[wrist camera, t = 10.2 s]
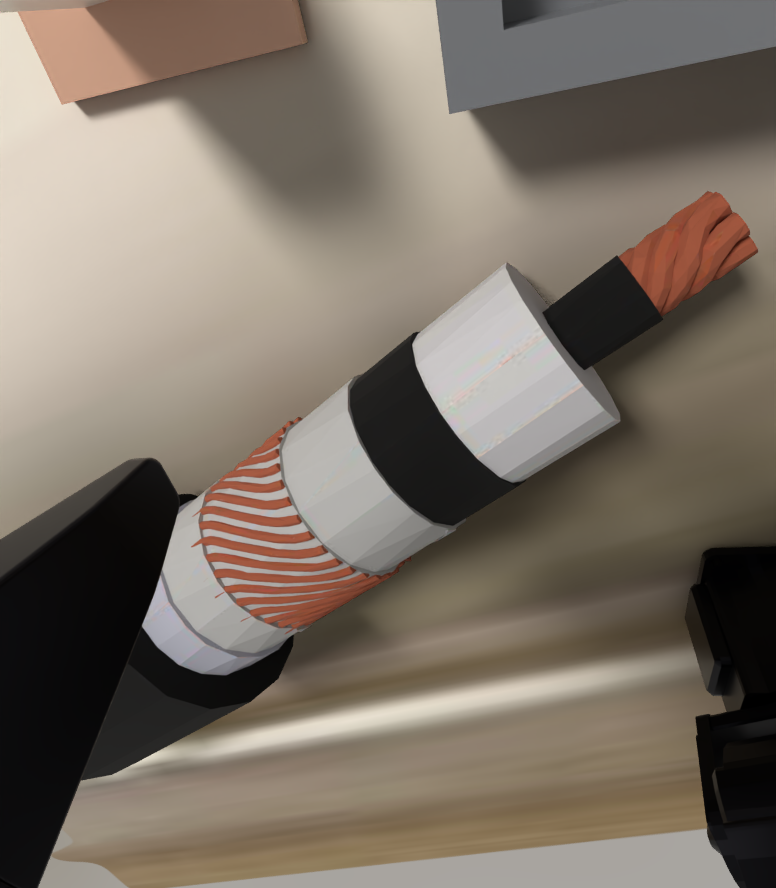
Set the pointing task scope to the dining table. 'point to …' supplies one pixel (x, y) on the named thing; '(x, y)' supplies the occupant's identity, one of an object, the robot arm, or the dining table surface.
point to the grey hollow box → (585, 42)
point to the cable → (390, 474)
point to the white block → (44, 4)
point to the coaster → (154, 40)
